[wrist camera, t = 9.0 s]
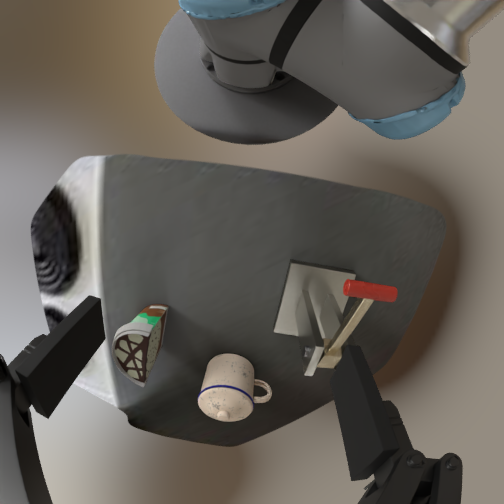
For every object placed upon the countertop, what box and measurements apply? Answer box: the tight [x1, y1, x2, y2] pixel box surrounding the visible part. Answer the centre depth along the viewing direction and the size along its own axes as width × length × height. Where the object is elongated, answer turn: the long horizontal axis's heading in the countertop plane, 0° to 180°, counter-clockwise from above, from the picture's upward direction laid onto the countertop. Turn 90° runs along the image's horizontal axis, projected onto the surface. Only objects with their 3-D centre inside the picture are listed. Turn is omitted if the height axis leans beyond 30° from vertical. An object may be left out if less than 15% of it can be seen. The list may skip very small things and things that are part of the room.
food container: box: [112, 304, 169, 387], centre depth 40 cm, size 12×6×10 cm, turn 163°
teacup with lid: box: [198, 354, 272, 421], centre depth 42 cm, size 12×9×12 cm
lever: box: [317, 279, 397, 368], centre depth 26 cm, size 13×5×2 cm, turn 169°
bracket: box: [273, 259, 356, 376], centre depth 35 cm, size 12×10×15 cm
